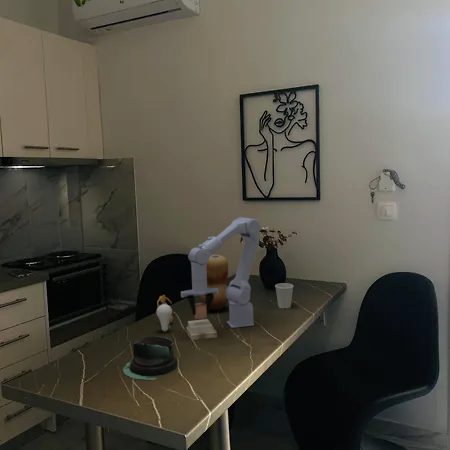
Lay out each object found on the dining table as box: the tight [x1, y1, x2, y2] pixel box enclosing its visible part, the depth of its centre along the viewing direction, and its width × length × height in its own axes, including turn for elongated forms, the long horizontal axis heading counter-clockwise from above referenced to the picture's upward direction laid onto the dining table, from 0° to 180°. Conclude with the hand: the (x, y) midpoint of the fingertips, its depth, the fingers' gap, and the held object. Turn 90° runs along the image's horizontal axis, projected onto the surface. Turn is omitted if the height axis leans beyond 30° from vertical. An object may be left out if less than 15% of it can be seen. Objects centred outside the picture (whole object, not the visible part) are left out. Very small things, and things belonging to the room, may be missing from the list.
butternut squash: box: [199, 253, 229, 311], centre depth 214 cm, size 14×13×25 cm
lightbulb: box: [156, 303, 173, 332], centre depth 188 cm, size 6×6×11 cm
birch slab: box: [186, 325, 218, 341], centre depth 184 cm, size 10×10×2 cm
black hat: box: [122, 336, 180, 381], centre depth 155 cm, size 20×20×9 cm
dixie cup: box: [274, 282, 294, 310], centre depth 216 cm, size 8×8×10 cm
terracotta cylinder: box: [194, 302, 208, 320], centre depth 183 cm, size 5×5×5 cm
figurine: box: [156, 294, 174, 324], centre depth 198 cm, size 8×6×12 cm
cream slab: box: [187, 318, 213, 334], centre depth 184 cm, size 8×8×2 cm
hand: (200, 313), depth 183 cm, fingers closed on terracotta cylinder, 5 cm apart
